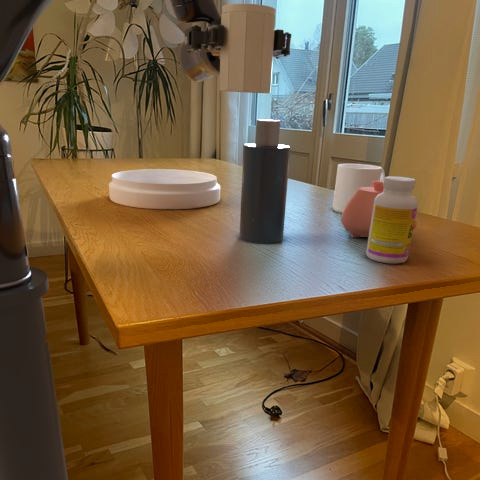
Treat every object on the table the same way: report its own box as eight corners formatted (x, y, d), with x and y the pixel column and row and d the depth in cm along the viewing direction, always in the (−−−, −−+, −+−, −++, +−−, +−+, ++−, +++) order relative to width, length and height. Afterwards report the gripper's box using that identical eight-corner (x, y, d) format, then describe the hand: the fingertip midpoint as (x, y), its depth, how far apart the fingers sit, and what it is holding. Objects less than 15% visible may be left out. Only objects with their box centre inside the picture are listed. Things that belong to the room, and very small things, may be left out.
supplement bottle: (409, 266, 75) (426, 183, 70) (366, 262, 76) (379, 179, 71) (404, 254, 81) (419, 177, 76) (364, 251, 82) (376, 174, 77)
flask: (246, 244, 83) (251, 120, 75) (234, 232, 90) (239, 118, 82) (289, 243, 85) (299, 122, 77) (274, 231, 92) (283, 119, 84)
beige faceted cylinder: (237, 91, 56) (241, 0, 53) (210, 90, 61) (211, 8, 58) (280, 93, 60) (287, 8, 56) (251, 92, 65) (255, 14, 61)
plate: (86, 201, 111) (84, 177, 109) (146, 186, 134) (146, 165, 132) (190, 214, 103) (190, 188, 100) (235, 195, 126) (236, 174, 123)
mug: (350, 216, 108) (357, 169, 103) (324, 208, 116) (329, 163, 111) (392, 213, 113) (399, 168, 109) (363, 205, 121) (370, 163, 117)
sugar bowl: (349, 224, 100) (356, 174, 96) (418, 235, 94) (429, 182, 90) (331, 237, 90) (338, 181, 86) (407, 249, 84) (418, 190, 80)
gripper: (176, 14, 68) (191, -6, 53) (273, 22, 71) (312, 5, 56) (177, 73, 71) (191, 69, 56) (269, 78, 74) (305, 76, 60)
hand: (251, 37), depth 56 cm, fingers closed on beige faceted cylinder, 6 cm apart
